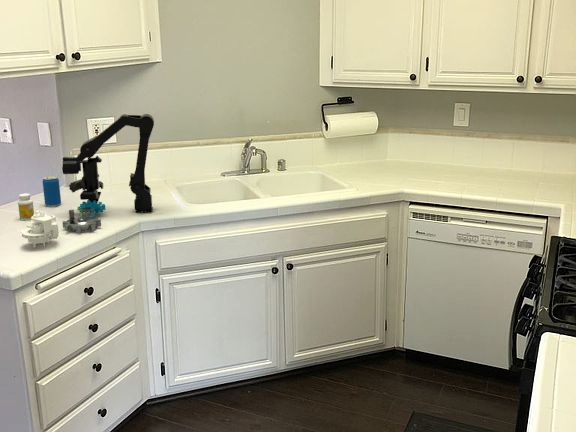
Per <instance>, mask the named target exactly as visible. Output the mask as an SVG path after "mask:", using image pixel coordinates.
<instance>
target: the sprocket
mask: <svg viewBox="0 0 576 432" xmlns="http://www.w3.org/2000/svg"><path fill="white" fill-rule="evenodd" d="M99 227H102V220H101V219H99V216H96V215H94V217H92V216H91V215H87V216H86V215H85V216H84V215H82V216H81V217H80V216H76V217H75V210H74V209H69V210H68V220H62V228H63V229H64V231H65V232H76V233H82V231H84V232H88V231H92V232H93V231H96V229H97V228H99Z"/></svg>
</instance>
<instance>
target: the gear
mask: <svg viewBox="0 0 576 432" xmlns="http://www.w3.org/2000/svg"><path fill="white" fill-rule="evenodd" d="M76 208H77V209H76V210H77V211H78V212H79V213H80V215H79V217H81V216H83V214H85V213H89V214H90V216H92V217H95V215H94V214H99V213H103V212H104V211H105V210H106V204H105V203H103V202H102V201H98V204H97V203H96V200H93V202H91V201H90V200H86V201H85V200H82V202H81V203H80V204H79V206H77V207H76Z"/></svg>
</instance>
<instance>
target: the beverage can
mask: <svg viewBox="0 0 576 432" xmlns="http://www.w3.org/2000/svg"><path fill="white" fill-rule="evenodd" d="M60 187H61V186H60V179H59V178H58V175H48V176H43V179H42V188H43V189H42V190H43V199H44V205H45V206H47V207H54V208H55V207H58V205H59V206H60V205H61V204H62V198H61V197H62V196H61V188H60Z"/></svg>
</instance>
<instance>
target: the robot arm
mask: <svg viewBox="0 0 576 432" xmlns="http://www.w3.org/2000/svg"><path fill="white" fill-rule="evenodd" d="M154 125H155V120H154V117H153V116H152V115H151V114H149V113H144V114H142V115H137V114H124V113H123V114H120V117H119V118H117V119H116V120H115V121H114V122H112V123H111V124H110V125H109V126H107V127H106V128H105V129H104V130H103V131H101V132H100V133H98V134H97V135H96V136H94V137H92V138H91V137H90V138H89V139H88V140H86V141H84V142H83V143H82V145H81V147H80V150H79V151H80V153H78V154H77V155H76V156H71V157H68V156H63V158H62V166H61V168H62V169H61V170H62V173H63V175H79V174H80V172H82V175H83V176H82V177H81V179H78V180H74V181H73V182H70V183H69V184H68V189H69V190H70V191H71V192H72V193H75V192H77V191H79V190H82V192H80V194H79V199H80V201H85V200H86V201H87V200H90V201H91V202H93V200H96V203H97V204H99V202H100V201H99V200H100V197H101V195H102V192H101V191H98V190H99V189H101V190H103V189H104V183H103V182H102V180H99V179H100V178H99V177H100V174H99V171H98V163H102V161H103V159H102V158H101V157H100V156H99V155H96V154H97V153H98V152H99V150H100V149H101V148H102V146H103V145H104V144H105V143H106V142H107V141H109V140H110V139H111V138H112V137H114V136H115V135H116V134H117V133H118V132H120V131H121V130H123V128H125V127H127V126H129V127H133V128H138V131H139V143H138V149H137V157H136V164H135V170H134V173H132V172H130V175H129V177H130V180H129V183H128V187H130V191H131V193H132V194H133V195H135V199H134V200H133V202H134V205H133V206H134V210H135V213H137V214H138V213H152V212H153V209H154V206H153V197H152V196H153V195H152V194H151V193H152V192H151V191H152V190H151V187H149V185H147V184H146V175H145V174H146V173H145V169H146V162H147V154H148V147H149V141H150V138H151V135H152V132H153V129H154V127H155V126H154ZM95 155H96V156H95ZM94 156H95V157H94Z"/></svg>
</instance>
